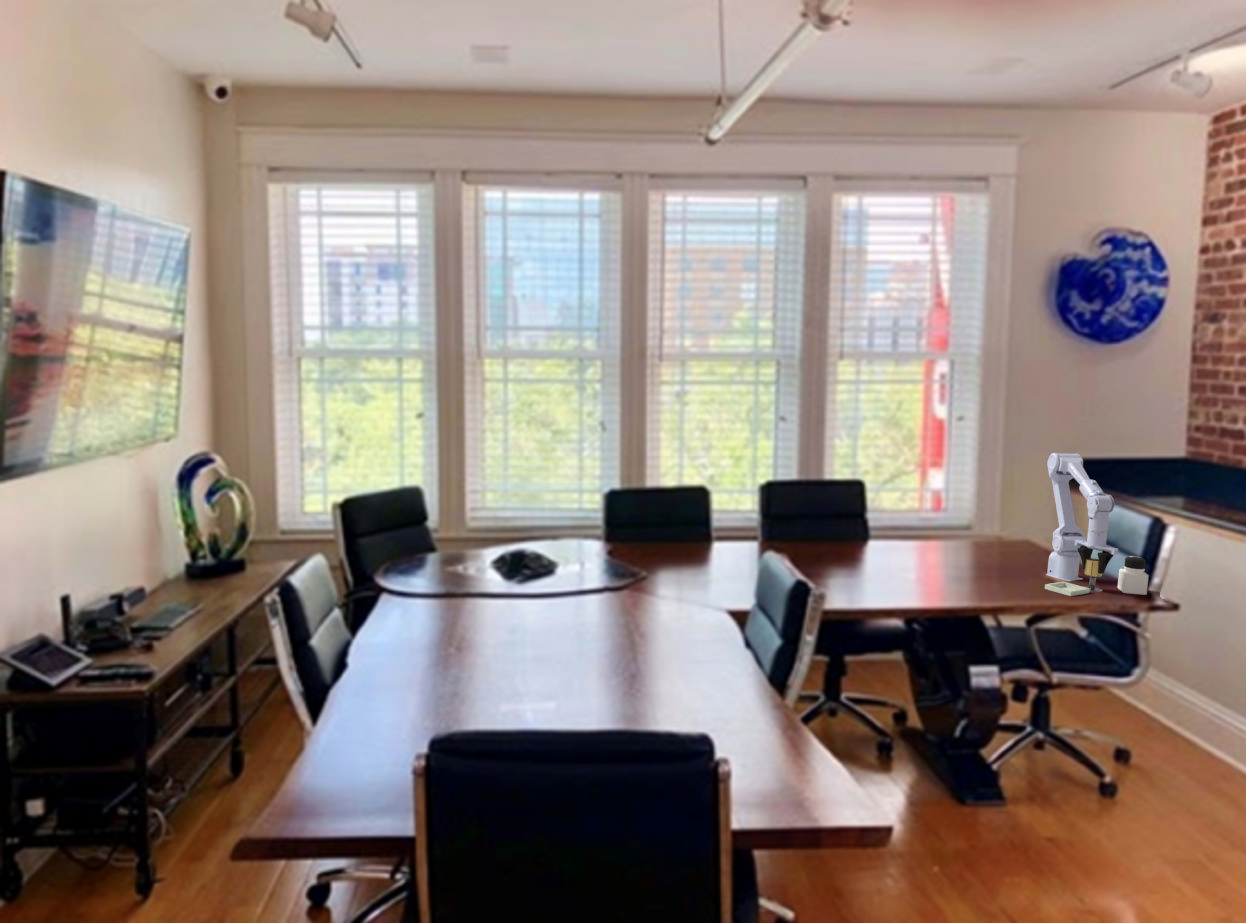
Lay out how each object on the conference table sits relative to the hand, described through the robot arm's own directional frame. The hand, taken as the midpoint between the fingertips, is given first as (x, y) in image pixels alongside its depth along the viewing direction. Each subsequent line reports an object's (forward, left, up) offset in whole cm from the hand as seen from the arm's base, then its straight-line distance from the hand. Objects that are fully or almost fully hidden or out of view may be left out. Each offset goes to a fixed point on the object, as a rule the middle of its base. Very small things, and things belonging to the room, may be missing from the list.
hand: (1093, 571), depth 320 cm
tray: (-2, -10, -7) cm, 12 cm away
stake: (0, 0, -7) cm, 7 cm away
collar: (0, 0, -1) cm, 1 cm away
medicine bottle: (+7, +11, -7) cm, 15 cm away
